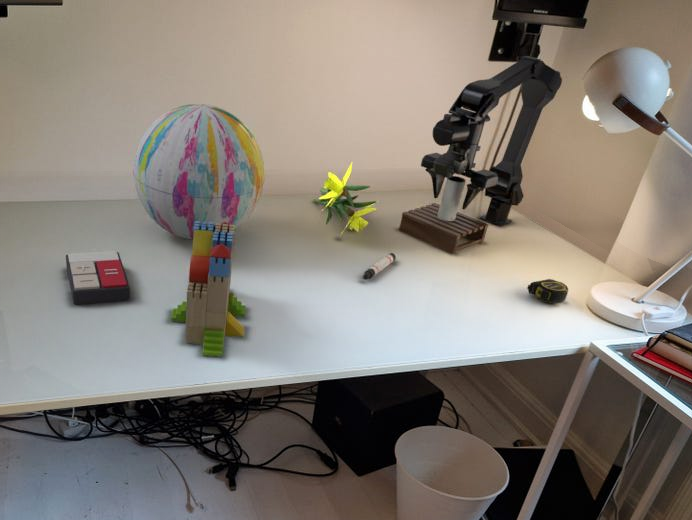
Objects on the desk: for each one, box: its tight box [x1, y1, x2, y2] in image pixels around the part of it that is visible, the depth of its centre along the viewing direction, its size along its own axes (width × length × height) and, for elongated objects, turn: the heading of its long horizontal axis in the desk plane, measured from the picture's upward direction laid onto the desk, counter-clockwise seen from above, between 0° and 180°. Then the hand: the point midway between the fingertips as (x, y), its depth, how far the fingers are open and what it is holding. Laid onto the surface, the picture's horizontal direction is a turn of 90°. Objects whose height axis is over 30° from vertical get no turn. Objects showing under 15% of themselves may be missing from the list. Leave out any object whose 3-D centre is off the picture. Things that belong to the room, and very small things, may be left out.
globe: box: [132, 103, 265, 241], centre depth 149 cm, size 30×30×30 cm
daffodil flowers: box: [313, 162, 378, 235], centre depth 167 cm, size 17×15×35 cm
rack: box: [398, 202, 490, 255], centre depth 168 cm, size 14×17×5 cm
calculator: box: [65, 250, 131, 305], centre depth 132 cm, size 11×4×15 cm
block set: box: [170, 221, 247, 358], centre depth 121 cm, size 28×14×19 cm, turn 178°
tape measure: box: [526, 278, 569, 304], centre depth 143 cm, size 7×7×4 cm
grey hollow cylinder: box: [437, 175, 467, 221], centre depth 163 cm, size 4×4×10 cm
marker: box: [362, 252, 397, 280], centre depth 148 cm, size 15×2×2 cm, turn 145°
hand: (449, 203), depth 164 cm, fingers open, 8 cm apart
